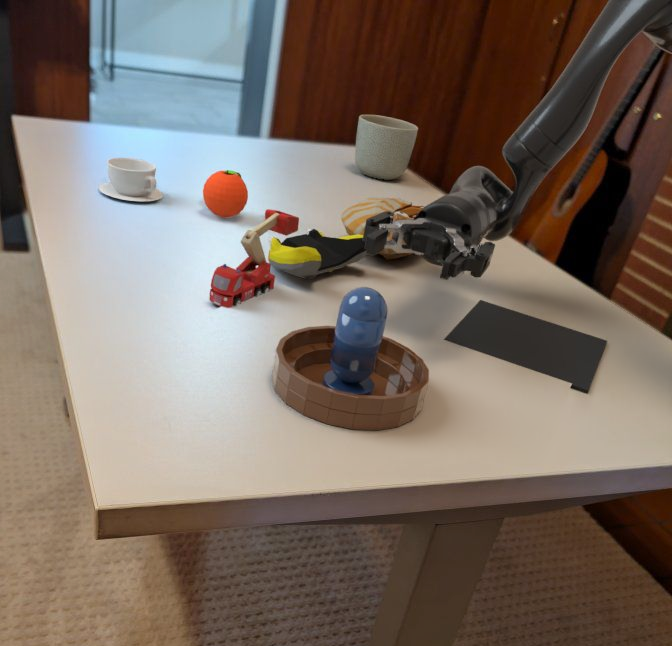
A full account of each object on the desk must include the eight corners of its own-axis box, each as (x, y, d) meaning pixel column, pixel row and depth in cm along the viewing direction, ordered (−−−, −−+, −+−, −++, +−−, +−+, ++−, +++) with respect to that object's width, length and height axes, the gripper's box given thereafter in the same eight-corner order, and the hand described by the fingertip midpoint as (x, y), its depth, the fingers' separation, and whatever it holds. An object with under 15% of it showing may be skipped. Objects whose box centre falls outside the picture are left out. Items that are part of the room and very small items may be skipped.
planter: (371, 184, 154) (382, 127, 148) (338, 166, 162) (347, 112, 156) (418, 184, 160) (430, 131, 154) (384, 167, 168) (394, 116, 163)
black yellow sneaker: (372, 275, 108) (319, 251, 112) (380, 237, 105) (325, 215, 109) (305, 295, 97) (249, 268, 101) (312, 254, 94) (254, 228, 99)
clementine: (220, 205, 123) (224, 160, 120) (256, 217, 121) (262, 172, 118) (192, 214, 117) (195, 167, 113) (230, 226, 115) (235, 179, 111)
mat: (606, 343, 101) (607, 340, 101) (587, 393, 87) (588, 390, 87) (479, 302, 106) (480, 299, 106) (441, 343, 92) (442, 340, 91)
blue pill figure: (380, 388, 78) (403, 290, 72) (360, 408, 73) (383, 305, 68) (334, 371, 79) (353, 273, 73) (313, 390, 75) (331, 288, 69)
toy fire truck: (205, 304, 89) (212, 223, 84) (269, 278, 100) (278, 205, 95) (228, 313, 88) (236, 232, 83) (290, 286, 99) (301, 213, 94)
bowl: (438, 391, 81) (447, 358, 79) (388, 454, 68) (397, 416, 66) (312, 346, 85) (318, 313, 83) (243, 397, 72) (248, 360, 70)
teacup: (84, 188, 118) (84, 158, 116) (132, 182, 126) (133, 153, 123) (130, 207, 114) (131, 176, 112) (176, 199, 122) (178, 170, 119)
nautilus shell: (435, 242, 129) (476, 281, 118) (319, 227, 120) (352, 268, 109) (450, 196, 124) (495, 232, 113) (331, 178, 115) (367, 215, 104)
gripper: (405, 180, 92) (353, 204, 79) (516, 213, 88) (481, 243, 75) (392, 240, 96) (340, 271, 83) (498, 273, 92) (461, 312, 79)
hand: (407, 258), depth 79 cm, fingers open, 8 cm apart
